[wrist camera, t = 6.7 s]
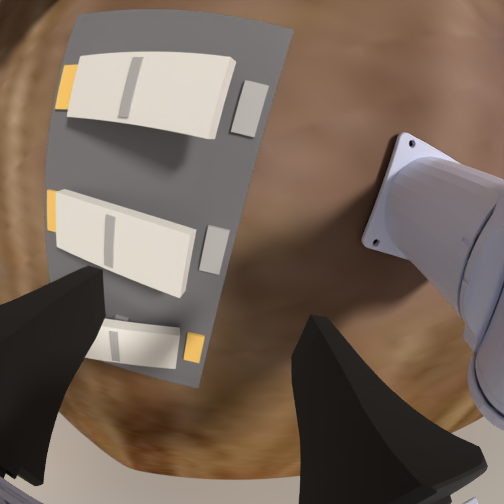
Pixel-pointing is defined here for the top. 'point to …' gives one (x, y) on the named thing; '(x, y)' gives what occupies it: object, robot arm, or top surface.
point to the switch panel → (166, 164)
